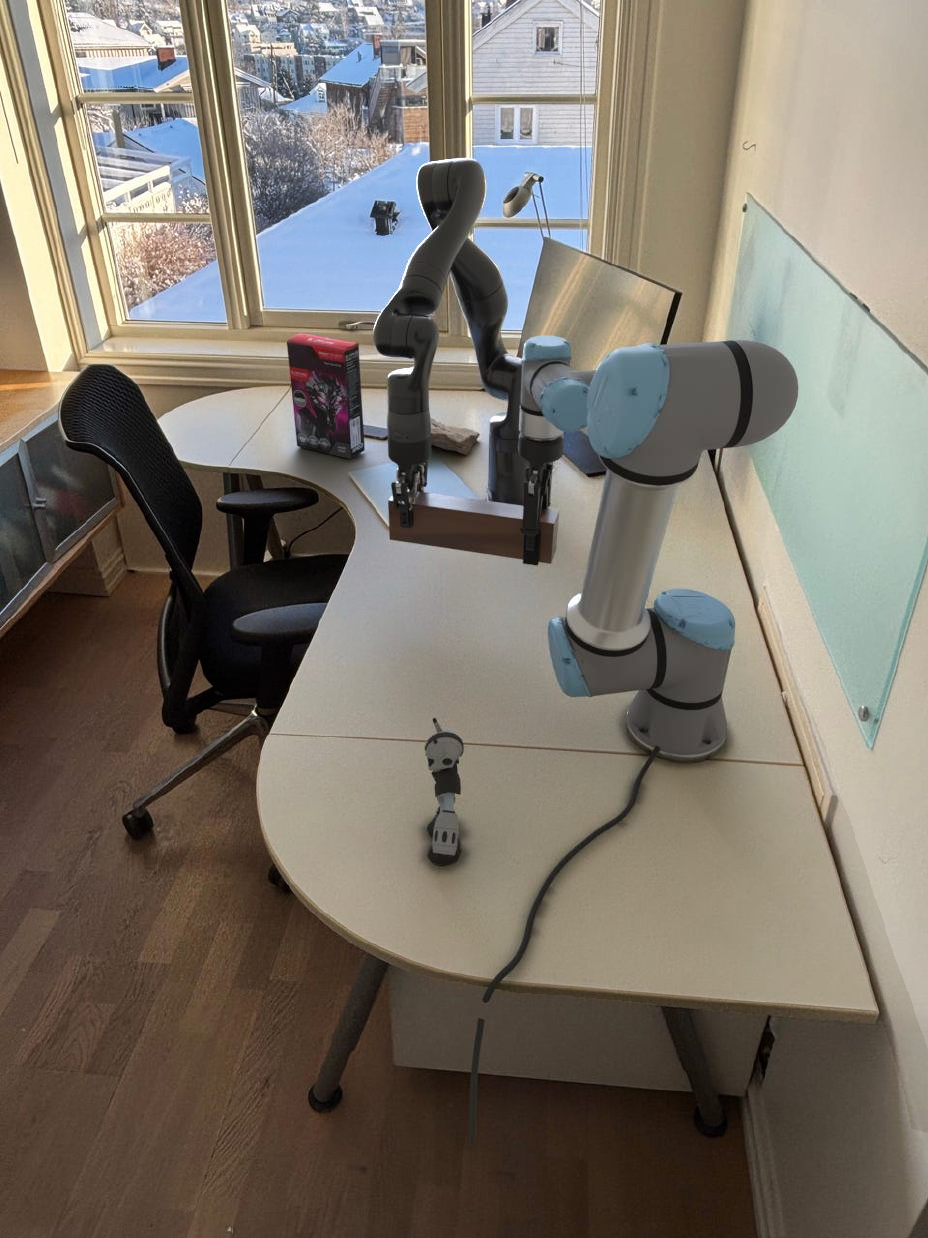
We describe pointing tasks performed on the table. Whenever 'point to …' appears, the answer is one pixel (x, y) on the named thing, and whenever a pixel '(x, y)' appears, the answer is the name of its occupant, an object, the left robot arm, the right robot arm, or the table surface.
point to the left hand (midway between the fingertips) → (411, 519)
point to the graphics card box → (326, 394)
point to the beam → (472, 526)
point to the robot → (444, 794)
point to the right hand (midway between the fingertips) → (534, 555)
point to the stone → (452, 437)
